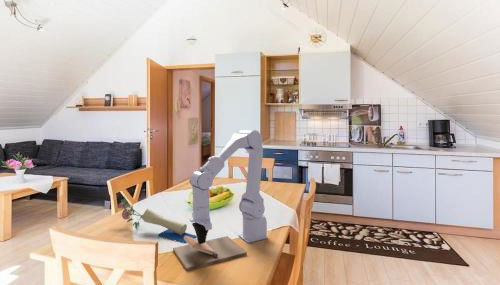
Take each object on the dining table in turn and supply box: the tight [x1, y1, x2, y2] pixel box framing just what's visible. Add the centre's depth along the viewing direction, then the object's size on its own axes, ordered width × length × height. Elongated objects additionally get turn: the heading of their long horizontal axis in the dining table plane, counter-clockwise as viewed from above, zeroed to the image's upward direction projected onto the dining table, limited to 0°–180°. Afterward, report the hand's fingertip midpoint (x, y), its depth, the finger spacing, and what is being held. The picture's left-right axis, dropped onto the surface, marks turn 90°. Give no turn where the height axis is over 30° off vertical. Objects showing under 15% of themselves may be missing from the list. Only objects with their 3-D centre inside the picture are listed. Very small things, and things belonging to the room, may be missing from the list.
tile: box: [184, 235, 215, 255], centre depth 102 cm, size 9×9×1 cm
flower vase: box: [119, 196, 188, 235], centre depth 125 cm, size 12×12×35 cm
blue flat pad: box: [158, 229, 197, 244], centre depth 118 cm, size 7×1×15 cm
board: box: [172, 235, 248, 272], centre depth 104 cm, size 22×16×2 cm
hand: (201, 242), depth 102 cm, fingers closed, pressing on tile
